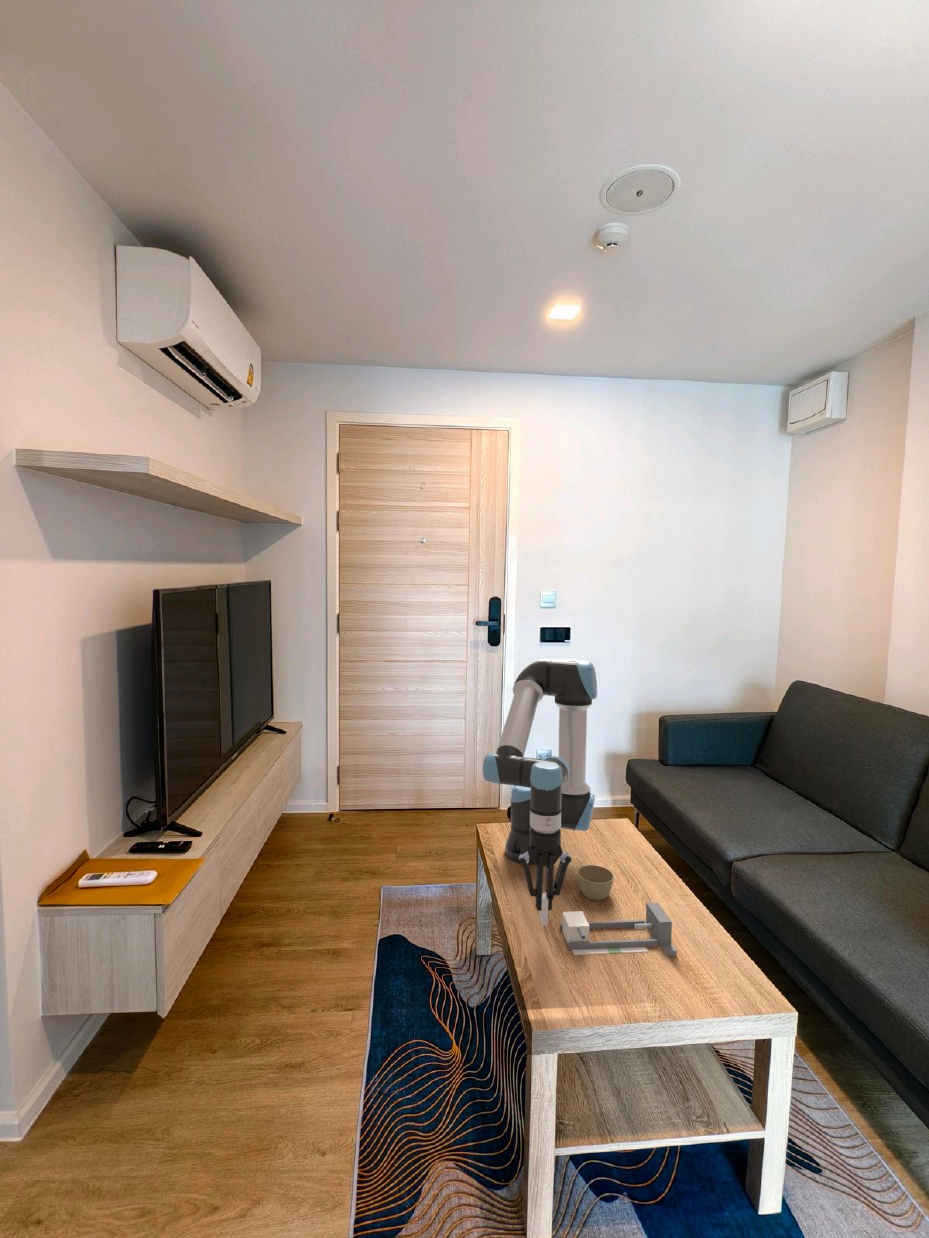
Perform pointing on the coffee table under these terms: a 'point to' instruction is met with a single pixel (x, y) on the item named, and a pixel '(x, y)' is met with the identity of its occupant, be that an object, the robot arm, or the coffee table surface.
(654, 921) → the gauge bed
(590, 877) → the flower pot
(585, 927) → the cream block
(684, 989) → the coffee table surface
